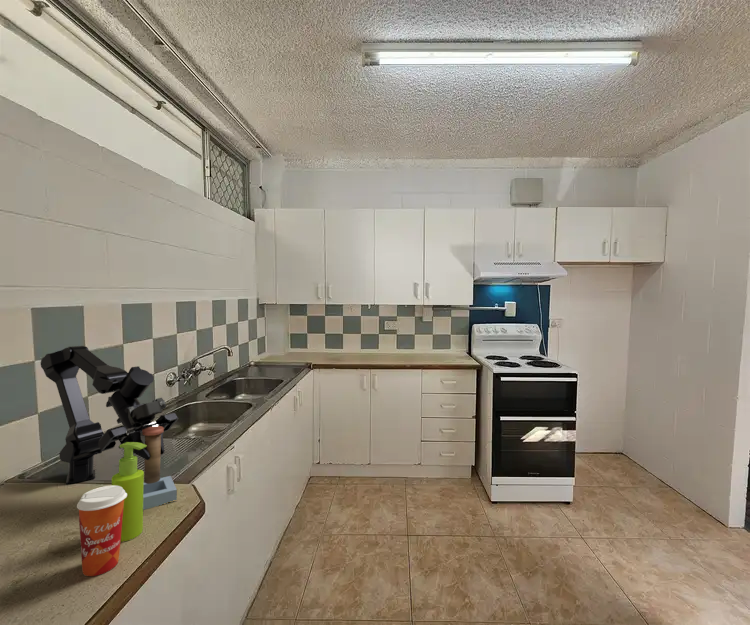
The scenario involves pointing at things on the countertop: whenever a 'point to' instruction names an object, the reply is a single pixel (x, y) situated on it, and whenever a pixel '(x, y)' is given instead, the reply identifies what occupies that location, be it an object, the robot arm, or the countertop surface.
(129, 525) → the soap dispenser
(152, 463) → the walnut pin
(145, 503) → the hole block
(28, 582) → the countertop surface
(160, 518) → the countertop surface
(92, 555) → the paper cup
